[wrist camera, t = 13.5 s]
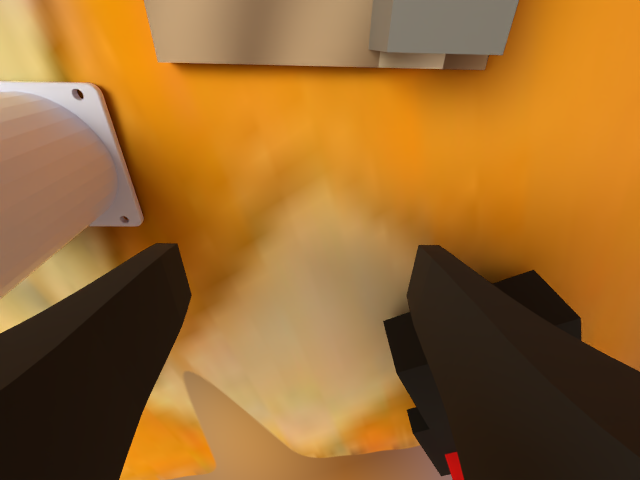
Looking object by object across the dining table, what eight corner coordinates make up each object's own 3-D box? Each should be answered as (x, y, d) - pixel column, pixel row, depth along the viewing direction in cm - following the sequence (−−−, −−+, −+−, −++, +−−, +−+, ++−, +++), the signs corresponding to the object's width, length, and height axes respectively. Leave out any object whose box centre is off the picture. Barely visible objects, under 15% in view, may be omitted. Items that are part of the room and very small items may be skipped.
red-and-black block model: (661, 337, 14) (628, 506, 27) (546, 240, 21) (562, 410, 34) (370, 416, 18) (461, 534, 30) (353, 309, 25) (433, 441, 37)
